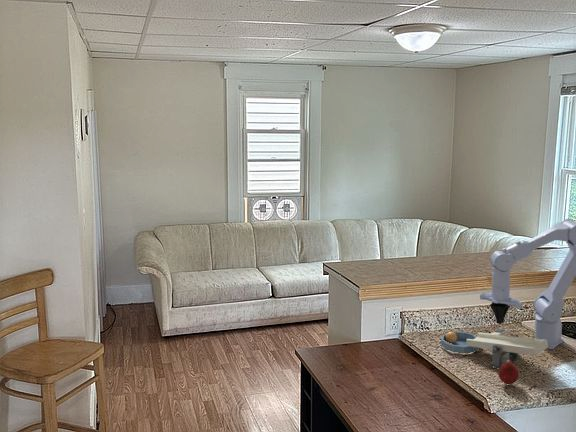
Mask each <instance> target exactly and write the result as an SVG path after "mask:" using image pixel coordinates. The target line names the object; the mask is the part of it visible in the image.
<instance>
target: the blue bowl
mask: <svg viewBox="0 0 576 432" xmlns="http://www.w3.org/2000/svg"><path fill="white" fill-rule="evenodd" d="M448 332H449V331H447V332H446V333H444V334H442V335H441V339H440V342H441V343H440V344H441V345H442V346H443V347H444V348H445V349H447V350H450V351H453V352H458V353H469V352H474V351H476V350H478V351H479V348H478V347H471V346H467V341H466V340H467V339H475V338H476V337H477V335H475V334H473V333H469V332H466V331H456V330H455V331H453V332H454V333H455V334H456V335H457V340H456V342H454V343H452V344H450V343H447V342H446V341H447V340H446V338H445V336H446V334H447V333H448ZM441 345H440V346H441Z"/></svg>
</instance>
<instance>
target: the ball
mask: <svg viewBox="0 0 576 432" xmlns="http://www.w3.org/2000/svg"><path fill="white" fill-rule="evenodd" d="M447 332H448V333H447ZM447 332H446V333H447V334H446V333H445V334H446V336H445V338H446V340H447V342H449V343H454V342H456V340H457V335H456V334H455V333H454V331H447Z"/></svg>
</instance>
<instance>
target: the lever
mask: <svg viewBox="0 0 576 432" xmlns="http://www.w3.org/2000/svg"><path fill="white" fill-rule="evenodd" d="M508 332H509V329H507V328H497V329H495V330H494V331H492V332H491V333H487V332H477V336H476V338H475V339H467V340H466V341H467V346H471V347H478V349H479V348H480V349H486V350H487V349H488V350H492V349H493V346H494V345H496V346H499V347H502V352H506V353H508V352H513V353H518V354H519V355H530V356H536V357H537V356H538V355H539V354H541V353H542V352H544V351H545V350H546V349H548V343H547V340H545V339H543V340H539V339H534V338H530V337H520V336H519V337H514V336H510V335H506V334H507V333H508Z"/></svg>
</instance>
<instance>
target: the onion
mask: <svg viewBox="0 0 576 432" xmlns="http://www.w3.org/2000/svg"><path fill="white" fill-rule="evenodd" d="M497 371H498V372H497V374H498V379H500V381H501V382H502V383H503V382H504V384H505V383H506V384H510V385H513V384H514V383H516V382H518V380H519V377H520V375H519V374H520V373H519V370H518V368H517V366H516V365H515V364H513V363H511V361H510V360H507V362H506V363H505V364H503V365H501V367H500V368H499V370H498V369H497ZM506 384H505V385H506Z"/></svg>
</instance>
